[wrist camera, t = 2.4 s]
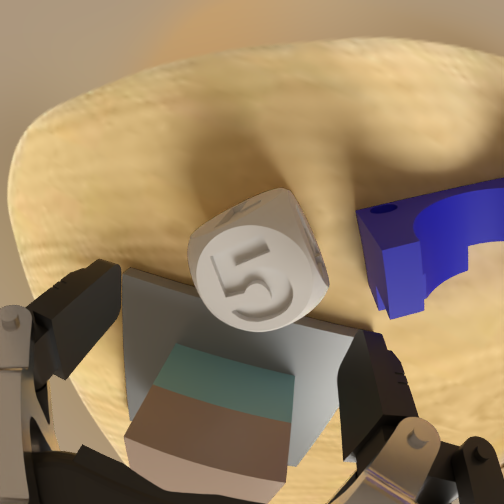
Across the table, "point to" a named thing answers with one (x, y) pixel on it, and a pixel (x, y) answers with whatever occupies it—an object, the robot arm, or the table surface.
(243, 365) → the brick tower
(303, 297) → the die
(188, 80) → the table surface
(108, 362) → the table surface
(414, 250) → the blue saddle bracket
